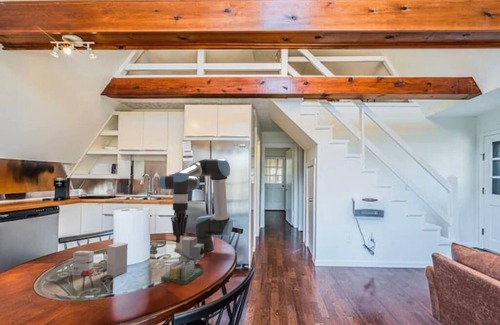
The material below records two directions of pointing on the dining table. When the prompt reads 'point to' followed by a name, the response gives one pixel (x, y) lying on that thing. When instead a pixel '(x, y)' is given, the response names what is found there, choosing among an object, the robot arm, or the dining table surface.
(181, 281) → the circuit board
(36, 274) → the dining table surface
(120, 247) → the skincare box
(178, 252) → the silver elongated bar
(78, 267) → the ink box
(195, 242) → the circuit breaker
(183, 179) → the robot arm
